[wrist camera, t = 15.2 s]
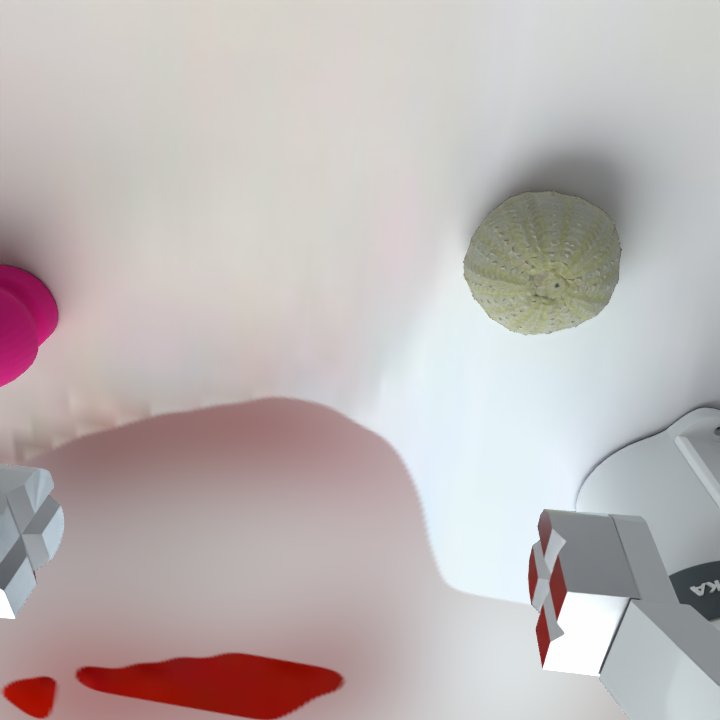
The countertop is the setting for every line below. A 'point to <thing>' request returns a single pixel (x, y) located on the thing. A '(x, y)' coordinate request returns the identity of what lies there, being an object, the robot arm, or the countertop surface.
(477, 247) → the sea urchin shell
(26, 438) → the countertop surface
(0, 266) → the pepper mill
